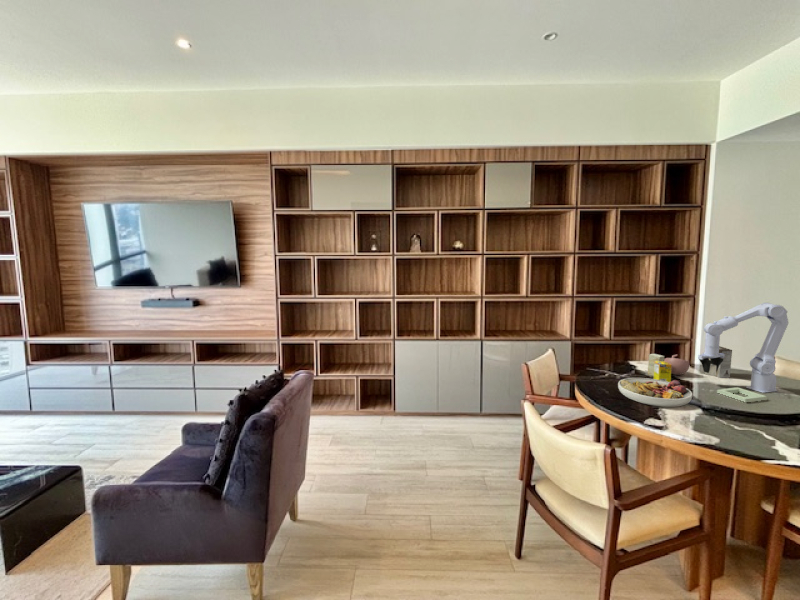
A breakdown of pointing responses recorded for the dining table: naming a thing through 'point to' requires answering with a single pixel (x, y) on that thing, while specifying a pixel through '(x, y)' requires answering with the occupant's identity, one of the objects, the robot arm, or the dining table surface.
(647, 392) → the bowl
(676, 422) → the dining table surface
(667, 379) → the supplement box
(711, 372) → the white egg shape
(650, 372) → the skincare box
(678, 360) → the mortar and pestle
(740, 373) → the dining table surface
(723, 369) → the coffee box
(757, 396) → the holder
